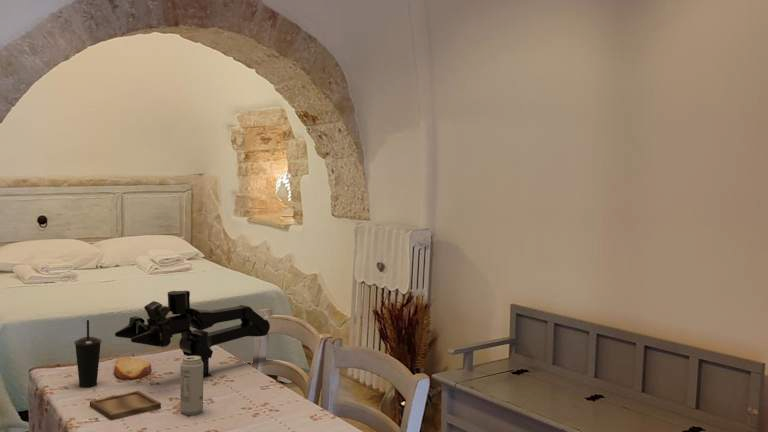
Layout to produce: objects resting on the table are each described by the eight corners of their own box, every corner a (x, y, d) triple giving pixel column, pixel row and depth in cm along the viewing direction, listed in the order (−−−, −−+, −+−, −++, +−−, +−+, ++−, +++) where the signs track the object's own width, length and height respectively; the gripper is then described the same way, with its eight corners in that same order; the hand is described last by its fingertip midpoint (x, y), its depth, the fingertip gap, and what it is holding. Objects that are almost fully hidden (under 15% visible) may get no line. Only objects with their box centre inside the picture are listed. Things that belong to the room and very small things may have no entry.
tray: (138, 395, 203) (138, 390, 203) (160, 408, 193) (160, 402, 193) (89, 406, 193) (89, 401, 193) (110, 420, 183) (110, 414, 183)
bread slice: (125, 361, 240) (125, 351, 239) (169, 368, 233) (169, 357, 233) (87, 375, 223) (86, 364, 222) (133, 382, 217) (133, 371, 216)
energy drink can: (205, 413, 190) (206, 359, 189) (183, 417, 187) (183, 362, 186) (199, 406, 195) (199, 354, 194) (177, 410, 192) (177, 356, 191)
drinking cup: (91, 390, 207) (91, 323, 206) (68, 388, 209) (68, 322, 208) (107, 382, 215) (106, 318, 214) (84, 380, 216) (84, 316, 215)
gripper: (152, 296, 221) (105, 305, 209) (186, 304, 209) (138, 315, 197) (154, 330, 222) (108, 342, 210) (188, 341, 210) (140, 353, 198)
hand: (123, 337), depth 204 cm, fingers open, 9 cm apart
